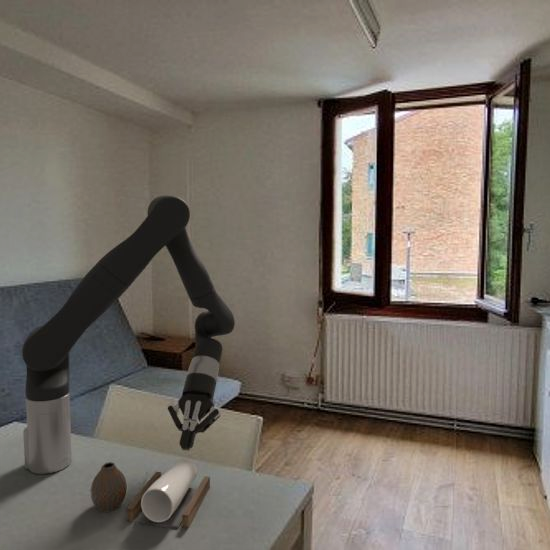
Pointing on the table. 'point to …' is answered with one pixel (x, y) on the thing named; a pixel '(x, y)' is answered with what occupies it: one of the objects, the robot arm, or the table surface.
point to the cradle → (181, 514)
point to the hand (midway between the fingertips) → (185, 449)
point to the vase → (108, 488)
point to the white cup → (168, 491)
